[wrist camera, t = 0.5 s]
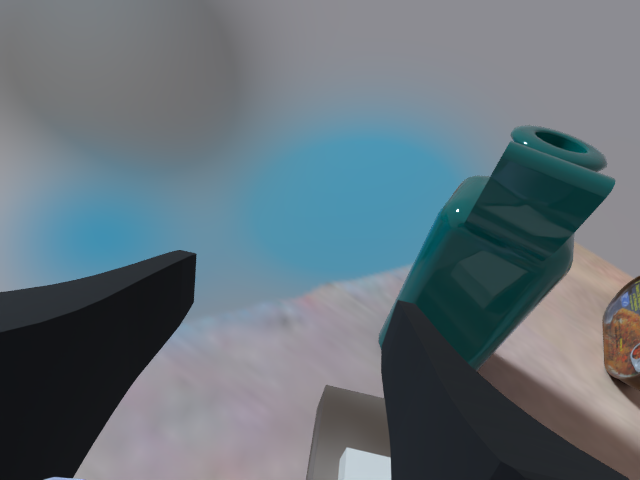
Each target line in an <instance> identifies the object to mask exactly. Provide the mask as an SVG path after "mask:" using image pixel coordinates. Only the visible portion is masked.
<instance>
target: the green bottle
mask: <svg viewBox="0 0 640 480" xmlns="http://www.w3.org/2000/svg"><path fill="white" fill-rule="evenodd" d="M511 137H512V139H513V141H514V142H513V141H511V142H510V143H509V145H508V147H507V148H506V150H505V152H504V153H503V156H502V157H501V159H500V161H499V162H498V164H497V166H496V168H495V169H494V171H493V173H492V175H491V177H489V176H473V177H470V178H467V179H466V180H464V181H463V182H462V183H461V184H460V186H459V187H458V188H457V189H456V191H455V192H454V193H453V195H452V196H451V197H450V199H449V200H448V201H447V202H446V204H445V205H444V206H443V208H442V209H441V211H440V212H439V213H438V215H437V217H436V219H435V221H434V223H433V225H432V227H431V229H430V232H429V234H428V236H427V238H426V240H425V242H424V244H423V246H422V248H421V250H420V252H419V254H418V256H417V258H416V260H415V262H414V264H413V266H412V268H411V270H410V272H409V274H408V276H407V278H406V280H405V282H404V284H403V287H402V289H401V291H400V293H399V295H398V297H397V299H396V301H395V303H394V305H393V307H392V309H391V311H390V313H389V315H388V317H387V319H386V321H385V323H384V325H383V327H382V329H381V331H380V333H379V344H380V347H381V350H382V344H383V341H384V338H385V335H386V332H387V329H388V326H389V323H390V320H391V317H392V315H393V312H394V309H395V306H396V303H397V300H400V301H405V302H409V303H413V304H416V305H417V306H418V308H419V309H420V310H421V311H422V312H423V313H424V314H425V316H426V317H427V318H428V319H429V320H430V322H431V323H432V324H433V325H434V326H435V328H436V329H437V330H438V331H439V332H440V334H441V335H442V336H443V337H444V338H445V339H446V340H447V341H448V343H449V344H450V345H451V346H452V347H453V348H454V349H455V350H456V351H457V352H458V353H459V354H460V356H461V357H462V358H463V359H464V360H465V361H466V362H467V363H468V364H469V365H470V366H471V367H472V368H473V369H474V370H475V371H478V370H479V368H480V367H481V366H482V365H483V364H484V363H485V362H486V361H487V360H488V359H489V358H490V357H491V356H492V354H493V353H494V352H495V351H496V350H497V349H498V348H499V347H500V346H501V345H502V344H503V343H504V341H505V340H506V339H507V338H508V337H509V336H510V335H511V334H512V333H513V332H514V331H515V330H516V329H517V327H518V326H519V325H520V324H521V323H522V322H523V321H524V320H525V319H526V318H527V317H528V316H529V314H530V313H531V312H532V311H533V310H534V309H535V308H536V307H537V306H538V305H539V304H540V303H541V302H542V300H543V299H544V298H545V297H546V296H547V295H548V294H549V293H550V292H551V291H552V290H553V289H554V288H555V286H556V285H557V284H558V283H559V282H560V281H561V280H562V279H563V278H564V277H565V276H566V274H567V273H568V271H569V270H570V268H571V265H572V261H573V249H574V232H575V231H576V230H577V229H578V228H579V227H580V226H581V224H583V223H584V221H585V220H586V219H587V218H588V217H589V216H590V215H591V214H592V213H593V212H594V210H595V209H596V208H597V207H598V206H599V205H600V204H601V203H602V202H603V201H604V199H605V198H606V197H607V196H608V195H609V193H610V192H611V191H612V189H613V187H614V185H615V179H614V178H612V177H609V176H606V175H603V174H601V173H598V172H597V171H600V170H603V169H605V168H606V167H607V161H606V157H605V156H604V155H603V154H602V153H601V152H599V151H598V150H597V149H596V148H595V147H593V146H591V145H589V144H588V143H586V142H584V141H582V140H580V139H578V138H576V137H573V136H571V135H568V134H565V133H563V132H560V131H556V130H553V129H549V128H544V127H540V126H530V125H527V126H520V127H516V128H514V130H513V131H512V133H511Z"/></svg>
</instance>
